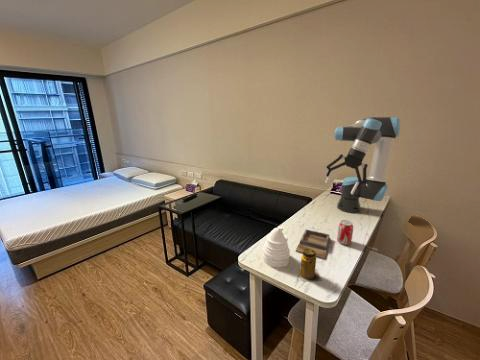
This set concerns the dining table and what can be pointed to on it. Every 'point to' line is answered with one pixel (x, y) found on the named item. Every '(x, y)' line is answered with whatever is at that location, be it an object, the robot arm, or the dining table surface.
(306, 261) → the condiment
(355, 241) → the dining table surface
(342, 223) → the soda can
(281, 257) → the honey pot
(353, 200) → the robot arm
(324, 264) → the dining table surface
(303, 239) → the board
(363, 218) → the dining table surface
